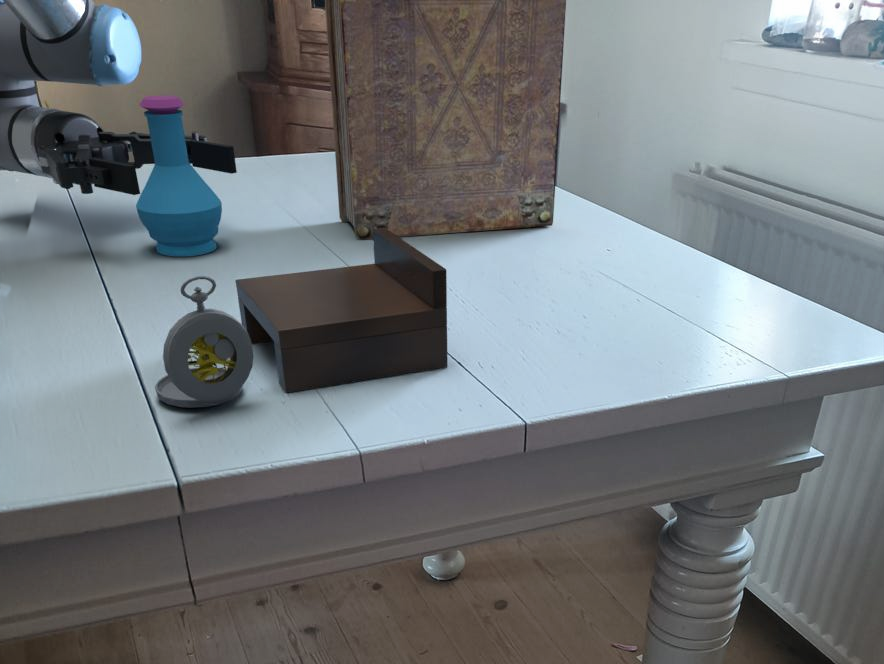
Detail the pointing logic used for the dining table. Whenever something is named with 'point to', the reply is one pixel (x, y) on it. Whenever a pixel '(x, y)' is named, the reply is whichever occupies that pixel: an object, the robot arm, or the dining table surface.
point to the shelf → (351, 317)
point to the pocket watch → (204, 356)
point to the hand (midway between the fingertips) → (186, 169)
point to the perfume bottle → (175, 187)
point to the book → (445, 113)
